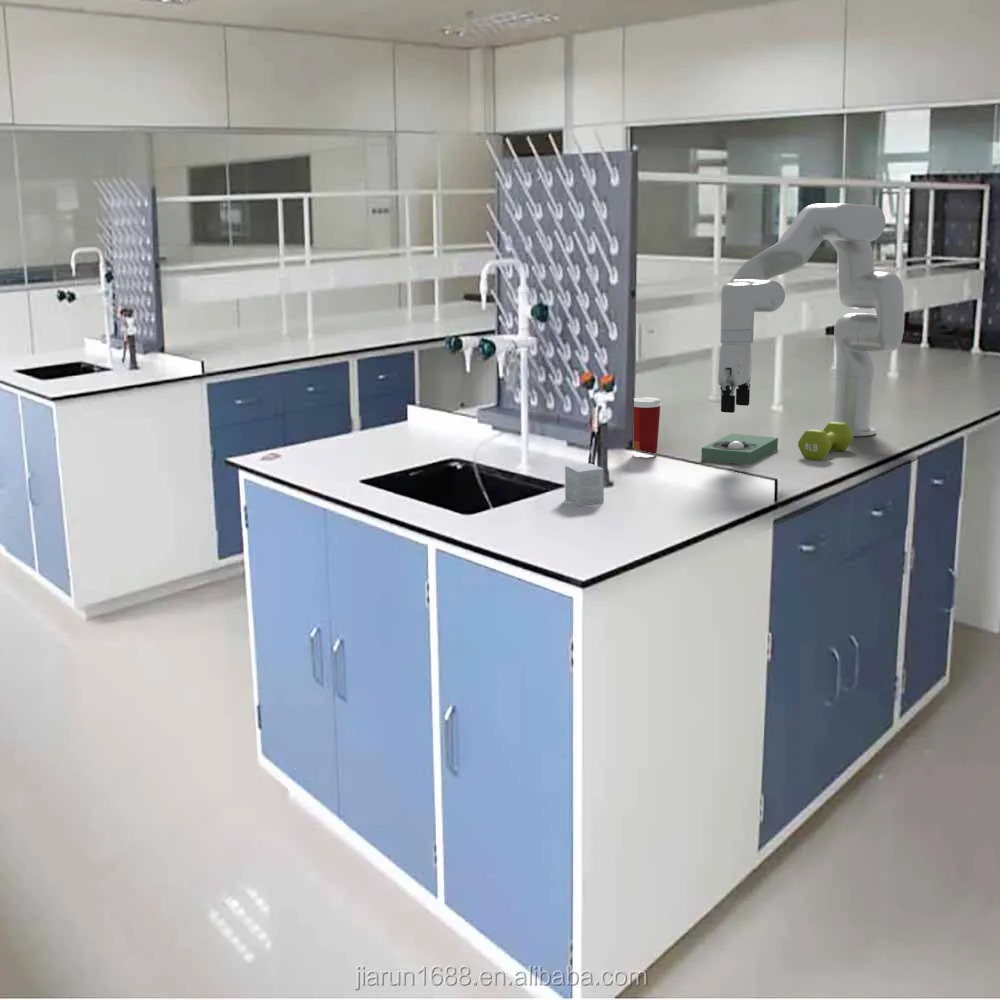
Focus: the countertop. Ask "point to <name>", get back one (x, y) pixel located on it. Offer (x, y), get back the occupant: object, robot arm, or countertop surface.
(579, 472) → the product box
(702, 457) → the putting mat
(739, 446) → the ball
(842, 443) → the dumbbell
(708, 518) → the countertop surface
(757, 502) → the countertop surface
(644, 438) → the paper cup
